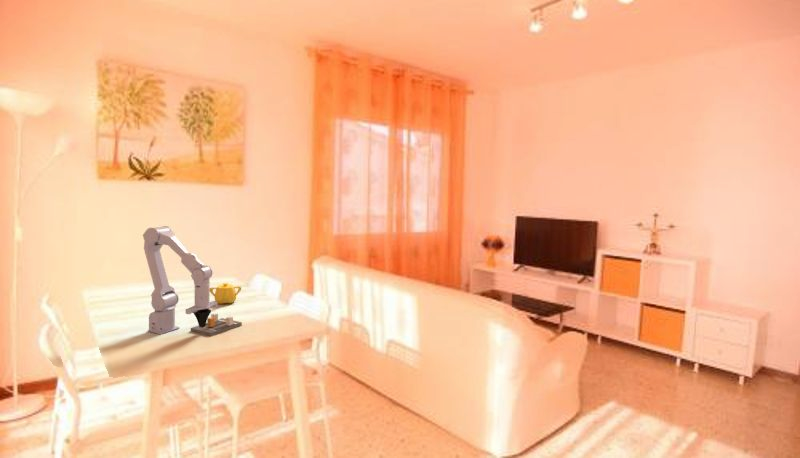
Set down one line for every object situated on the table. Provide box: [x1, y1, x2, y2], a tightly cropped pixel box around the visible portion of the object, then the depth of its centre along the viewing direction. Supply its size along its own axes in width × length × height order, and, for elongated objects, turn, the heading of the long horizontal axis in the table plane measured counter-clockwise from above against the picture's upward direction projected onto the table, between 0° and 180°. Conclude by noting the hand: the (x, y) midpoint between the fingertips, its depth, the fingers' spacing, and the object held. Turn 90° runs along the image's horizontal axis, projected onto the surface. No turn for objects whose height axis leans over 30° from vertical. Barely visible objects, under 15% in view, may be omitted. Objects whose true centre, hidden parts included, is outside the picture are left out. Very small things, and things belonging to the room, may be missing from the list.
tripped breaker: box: [206, 316, 215, 327], centre depth 190 cm, size 2×2×4 cm
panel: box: [190, 312, 243, 337], centre depth 193 cm, size 17×12×5 cm
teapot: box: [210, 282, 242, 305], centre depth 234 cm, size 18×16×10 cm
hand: (202, 326), depth 186 cm, fingers closed
